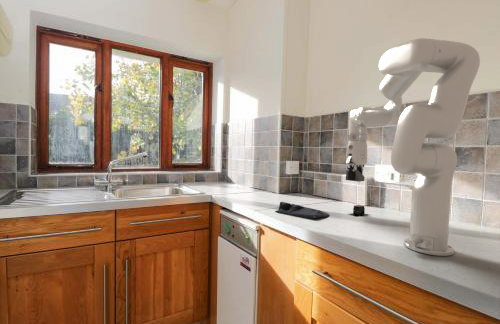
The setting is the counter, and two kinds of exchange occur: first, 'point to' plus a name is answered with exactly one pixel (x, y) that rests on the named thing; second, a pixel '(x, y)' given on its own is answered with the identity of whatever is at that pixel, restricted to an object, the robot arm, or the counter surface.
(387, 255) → the counter surface
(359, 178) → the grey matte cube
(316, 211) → the dark grey rough slab
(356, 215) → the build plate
